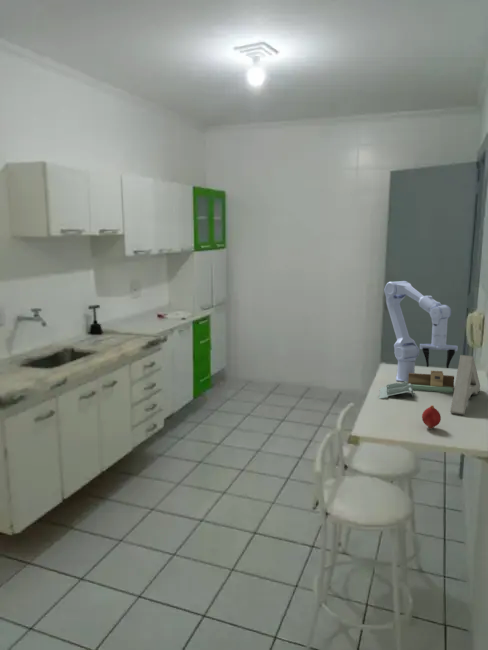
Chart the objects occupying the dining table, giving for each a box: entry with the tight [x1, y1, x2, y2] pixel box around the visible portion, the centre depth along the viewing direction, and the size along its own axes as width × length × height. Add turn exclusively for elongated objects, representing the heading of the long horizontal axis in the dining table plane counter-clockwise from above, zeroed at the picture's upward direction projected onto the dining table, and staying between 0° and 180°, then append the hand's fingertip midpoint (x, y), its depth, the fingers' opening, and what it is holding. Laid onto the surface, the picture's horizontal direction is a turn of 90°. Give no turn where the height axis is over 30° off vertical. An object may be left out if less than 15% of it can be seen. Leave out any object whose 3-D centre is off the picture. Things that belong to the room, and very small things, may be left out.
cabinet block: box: [430, 370, 444, 387], centre depth 211 cm, size 6×4×6 cm
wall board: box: [408, 372, 455, 389], centre depth 215 cm, size 2×18×5 cm, turn 73°
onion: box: [421, 405, 442, 429], centre depth 167 cm, size 6×6×8 cm
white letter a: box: [450, 354, 481, 416], centre depth 195 cm, size 22×4×30 cm
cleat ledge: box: [412, 384, 454, 394], centre depth 212 cm, size 7×16×2 cm, turn 73°
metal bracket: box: [378, 381, 416, 400], centre depth 204 cm, size 14×6×15 cm
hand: (437, 366), depth 210 cm, fingers open, 7 cm apart
